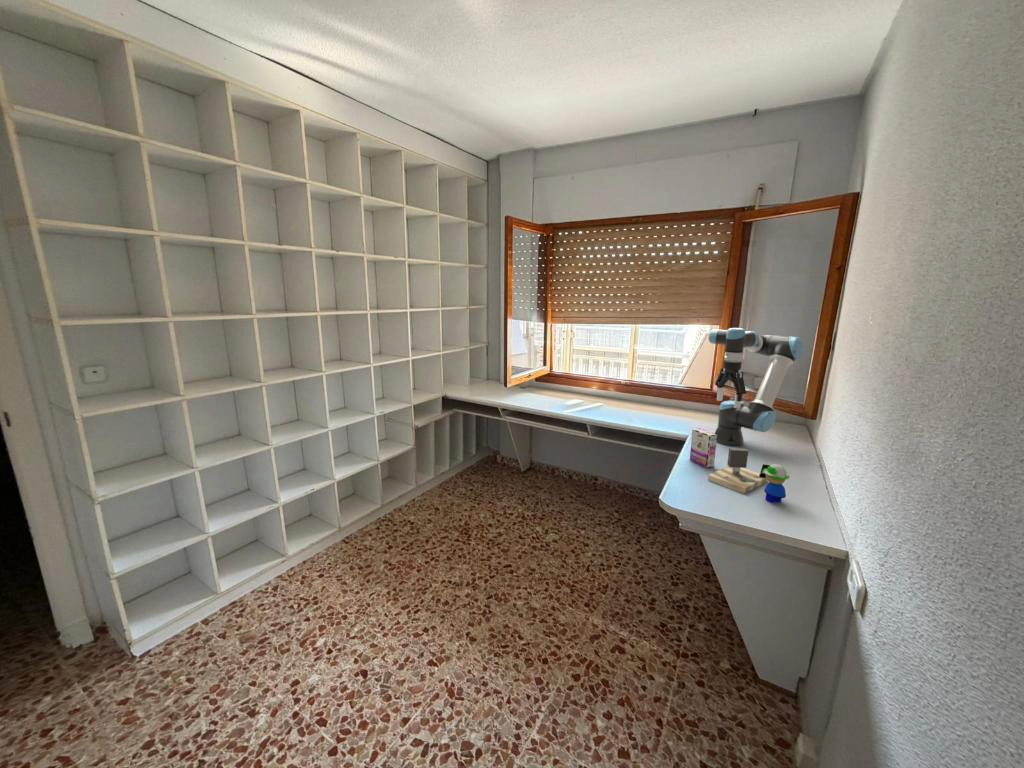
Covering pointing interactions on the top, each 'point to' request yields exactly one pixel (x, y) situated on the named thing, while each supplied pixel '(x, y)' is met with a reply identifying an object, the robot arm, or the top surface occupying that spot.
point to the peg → (737, 460)
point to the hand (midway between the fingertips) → (728, 404)
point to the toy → (774, 482)
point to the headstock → (737, 479)
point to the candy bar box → (703, 447)
